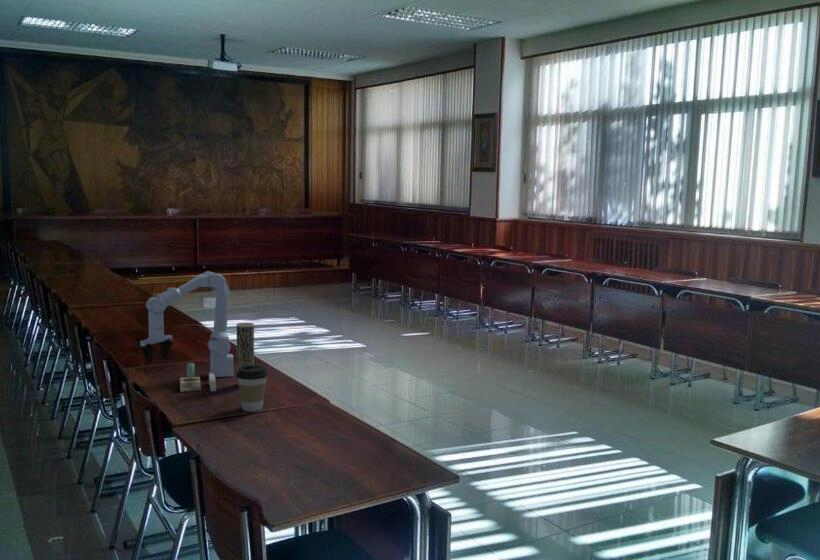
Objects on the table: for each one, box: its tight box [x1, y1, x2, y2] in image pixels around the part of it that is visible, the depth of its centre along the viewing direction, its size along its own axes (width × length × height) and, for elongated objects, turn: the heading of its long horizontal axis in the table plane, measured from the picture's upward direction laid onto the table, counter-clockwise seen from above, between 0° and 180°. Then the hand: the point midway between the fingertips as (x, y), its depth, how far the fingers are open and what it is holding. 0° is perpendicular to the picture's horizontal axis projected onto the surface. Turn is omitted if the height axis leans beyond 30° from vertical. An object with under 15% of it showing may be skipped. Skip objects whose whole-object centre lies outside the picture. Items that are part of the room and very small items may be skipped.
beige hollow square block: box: [179, 376, 202, 393], centre depth 293 cm, size 8×8×4 cm
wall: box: [208, 373, 217, 392], centre depth 296 cm, size 2×12×4 cm, turn 18°
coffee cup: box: [235, 364, 269, 413], centre depth 269 cm, size 11×11×15 cm
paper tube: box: [235, 322, 255, 387], centre depth 299 cm, size 7×7×25 cm
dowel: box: [186, 362, 196, 378], centre depth 301 cm, size 3×3×8 cm
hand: (157, 360), depth 297 cm, fingers open, 7 cm apart
